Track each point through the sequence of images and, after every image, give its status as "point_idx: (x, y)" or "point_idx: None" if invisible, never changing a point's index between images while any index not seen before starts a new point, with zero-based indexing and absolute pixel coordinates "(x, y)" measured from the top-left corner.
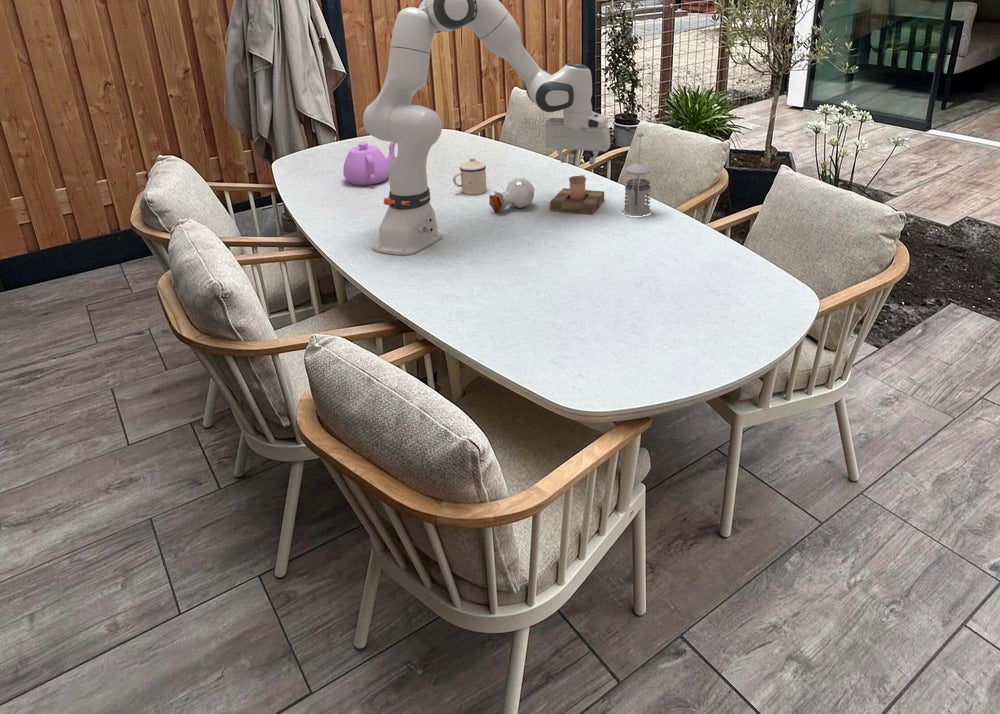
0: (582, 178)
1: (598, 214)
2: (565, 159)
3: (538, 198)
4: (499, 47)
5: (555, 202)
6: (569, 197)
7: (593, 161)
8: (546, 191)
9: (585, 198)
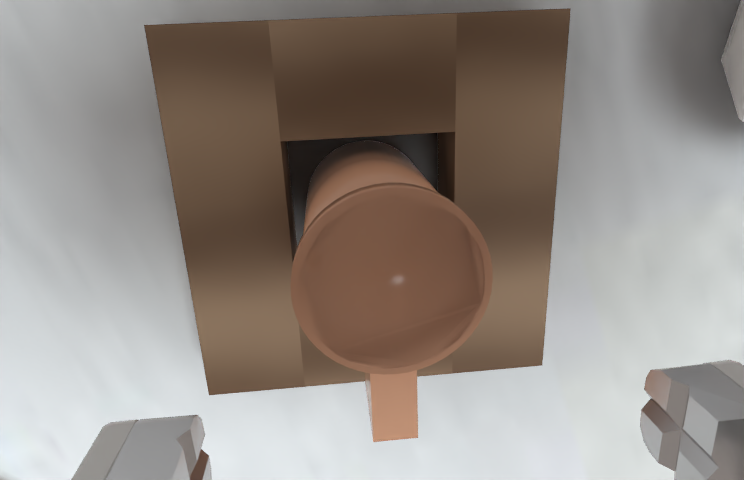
0: (335, 304)
1: (123, 55)
2: (678, 438)
3: (679, 249)
4: None
5: (514, 11)
6: None
7: (85, 457)
8: None
9: None
